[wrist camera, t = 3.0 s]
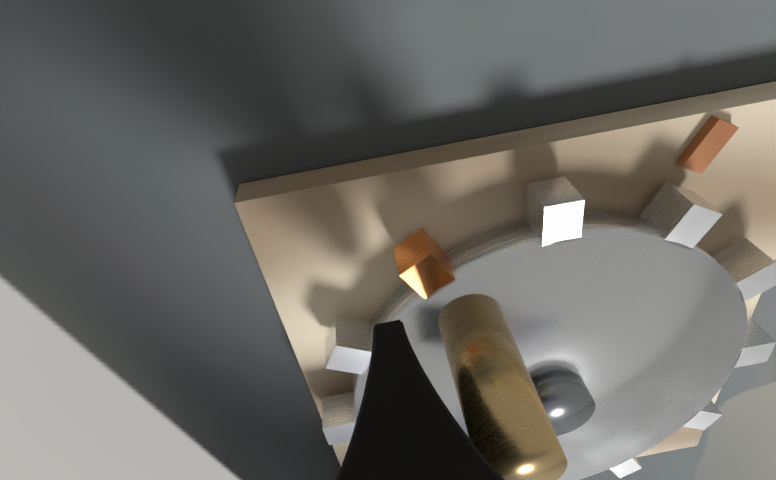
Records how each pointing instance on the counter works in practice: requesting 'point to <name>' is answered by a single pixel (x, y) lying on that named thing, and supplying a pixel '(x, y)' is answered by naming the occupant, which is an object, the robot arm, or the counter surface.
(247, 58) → the counter surface
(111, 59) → the counter surface
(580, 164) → the sprocket base
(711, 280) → the sprocket
